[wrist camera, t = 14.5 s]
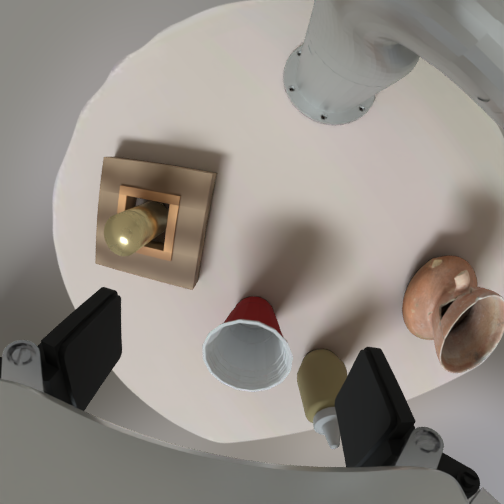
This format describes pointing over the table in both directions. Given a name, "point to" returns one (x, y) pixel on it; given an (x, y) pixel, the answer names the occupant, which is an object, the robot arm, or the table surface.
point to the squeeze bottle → (322, 391)
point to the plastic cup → (248, 348)
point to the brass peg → (135, 227)
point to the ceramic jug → (453, 313)
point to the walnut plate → (178, 224)
